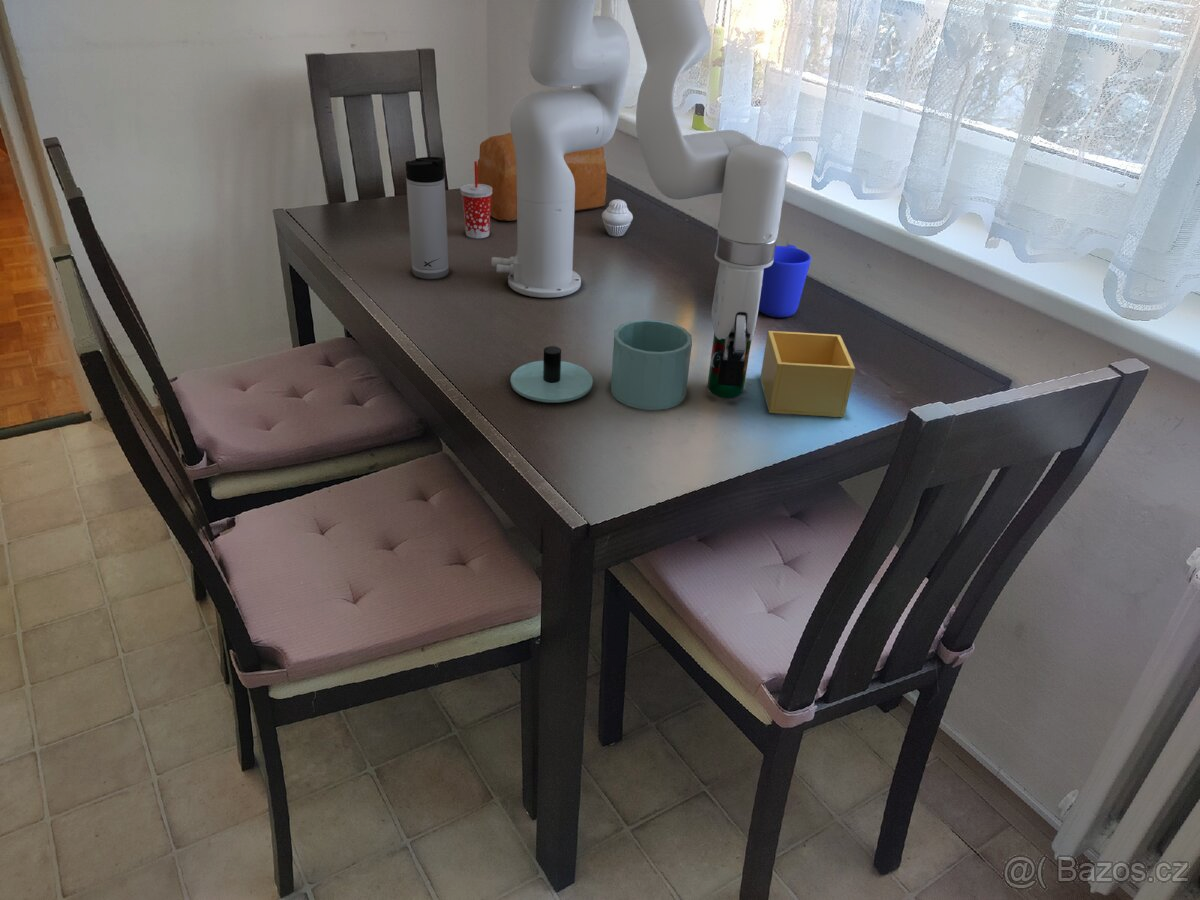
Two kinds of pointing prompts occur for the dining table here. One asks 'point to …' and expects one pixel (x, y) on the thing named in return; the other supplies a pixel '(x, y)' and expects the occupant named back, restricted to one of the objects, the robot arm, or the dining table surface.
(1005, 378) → the dining table surface
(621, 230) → the muffin
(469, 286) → the dining table surface
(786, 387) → the bin
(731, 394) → the soda can
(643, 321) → the pot
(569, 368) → the pot lid
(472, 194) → the beverage cup
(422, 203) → the travel mug
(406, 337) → the dining table surface
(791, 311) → the mug
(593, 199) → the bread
